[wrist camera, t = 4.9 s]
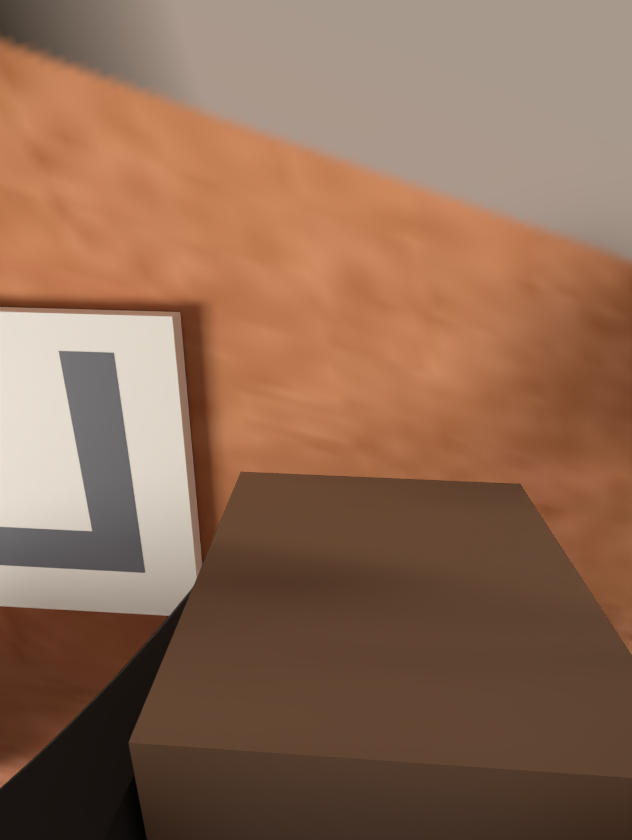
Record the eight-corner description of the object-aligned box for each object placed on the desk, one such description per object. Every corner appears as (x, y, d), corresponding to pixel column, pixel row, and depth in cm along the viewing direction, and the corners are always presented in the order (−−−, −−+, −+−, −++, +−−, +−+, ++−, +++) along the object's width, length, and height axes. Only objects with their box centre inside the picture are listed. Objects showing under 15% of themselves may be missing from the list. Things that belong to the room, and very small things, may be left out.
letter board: (205, 603, 20) (200, 617, 20) (-73, 587, 21) (-88, 601, 20) (180, 312, 16) (172, 316, 15) (-174, 301, 16) (-200, 305, 16)
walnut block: (479, 686, 11) (581, 1046, 6) (249, 671, 11) (179, 1007, 6) (520, 484, 9) (716, 784, 4) (240, 472, 9) (128, 742, 4)
